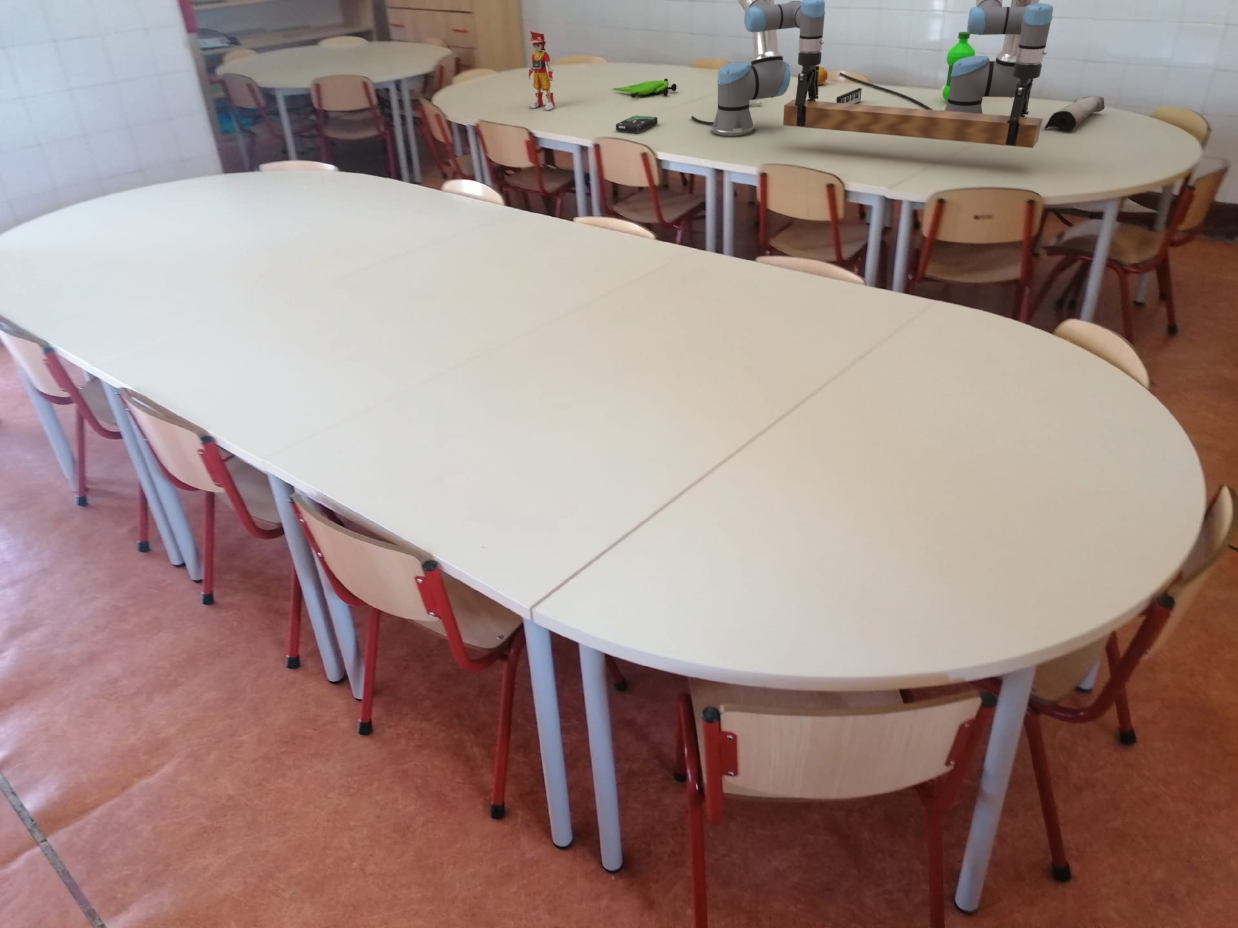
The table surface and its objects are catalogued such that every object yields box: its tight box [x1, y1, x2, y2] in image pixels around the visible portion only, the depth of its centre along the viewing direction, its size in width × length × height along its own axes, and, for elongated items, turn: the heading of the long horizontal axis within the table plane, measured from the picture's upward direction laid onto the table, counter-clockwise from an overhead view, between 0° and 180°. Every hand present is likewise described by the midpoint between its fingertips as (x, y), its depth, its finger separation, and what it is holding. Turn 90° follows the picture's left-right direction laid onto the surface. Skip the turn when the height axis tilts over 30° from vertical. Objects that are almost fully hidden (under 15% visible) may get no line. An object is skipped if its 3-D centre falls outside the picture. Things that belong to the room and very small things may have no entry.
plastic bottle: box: [942, 31, 976, 103], centre depth 348 cm, size 10×10×25 cm
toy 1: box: [527, 31, 556, 111], centre depth 374 cm, size 12×9×30 cm
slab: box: [782, 99, 1043, 149], centre depth 292 cm, size 81×8×7 cm, turn 59°
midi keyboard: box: [835, 87, 863, 104], centre depth 357 cm, size 18×1×5 cm, turn 138°
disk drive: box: [615, 114, 658, 134], centre depth 347 cm, size 10×3×15 cm
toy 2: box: [612, 78, 677, 99], centre depth 396 cm, size 28×5×30 cm
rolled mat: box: [1044, 95, 1106, 133], centre depth 322 cm, size 30×9×10 cm
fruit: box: [818, 66, 829, 86], centre depth 389 cm, size 8×8×8 cm
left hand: (805, 122), depth 309 cm, fingers closed on slab, 8 cm apart
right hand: (1013, 140), depth 279 cm, fingers closed on slab, 8 cm apart
